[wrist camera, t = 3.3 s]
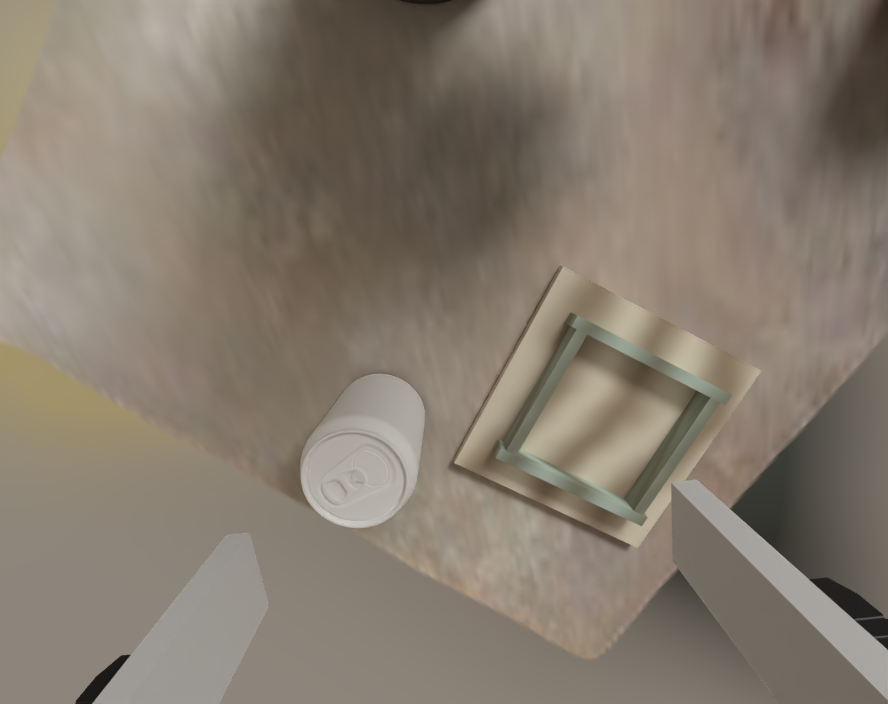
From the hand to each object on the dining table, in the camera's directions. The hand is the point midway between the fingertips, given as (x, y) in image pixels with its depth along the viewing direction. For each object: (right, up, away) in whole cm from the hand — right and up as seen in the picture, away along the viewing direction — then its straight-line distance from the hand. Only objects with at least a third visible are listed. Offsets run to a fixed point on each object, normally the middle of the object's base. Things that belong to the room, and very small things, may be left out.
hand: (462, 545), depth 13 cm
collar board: (+14, 0, +26) cm, 30 cm away
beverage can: (-6, 0, +27) cm, 27 cm away
